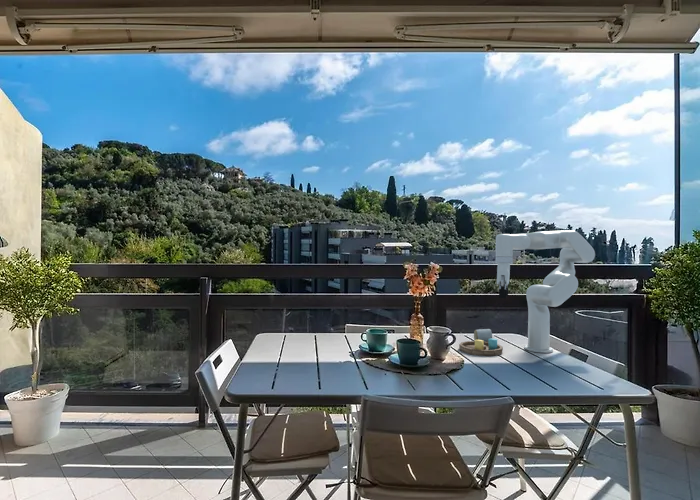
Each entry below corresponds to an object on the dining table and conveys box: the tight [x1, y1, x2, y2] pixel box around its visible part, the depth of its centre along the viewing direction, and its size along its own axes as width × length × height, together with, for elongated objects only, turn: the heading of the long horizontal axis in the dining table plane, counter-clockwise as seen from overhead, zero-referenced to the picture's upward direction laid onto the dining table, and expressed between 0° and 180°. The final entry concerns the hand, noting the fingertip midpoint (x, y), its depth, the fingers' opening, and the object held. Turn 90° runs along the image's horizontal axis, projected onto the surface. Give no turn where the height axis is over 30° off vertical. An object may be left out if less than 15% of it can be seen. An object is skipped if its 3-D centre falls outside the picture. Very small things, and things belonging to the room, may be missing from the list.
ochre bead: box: [475, 340, 484, 350], centre depth 192 cm, size 4×4×5 cm
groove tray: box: [458, 340, 504, 357], centre depth 197 cm, size 19×19×2 cm
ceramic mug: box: [473, 328, 493, 342], centre depth 211 cm, size 11×8×8 cm
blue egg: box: [488, 337, 498, 350], centre depth 195 cm, size 4×4×5 cm
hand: (503, 297), depth 193 cm, fingers open, 9 cm apart
